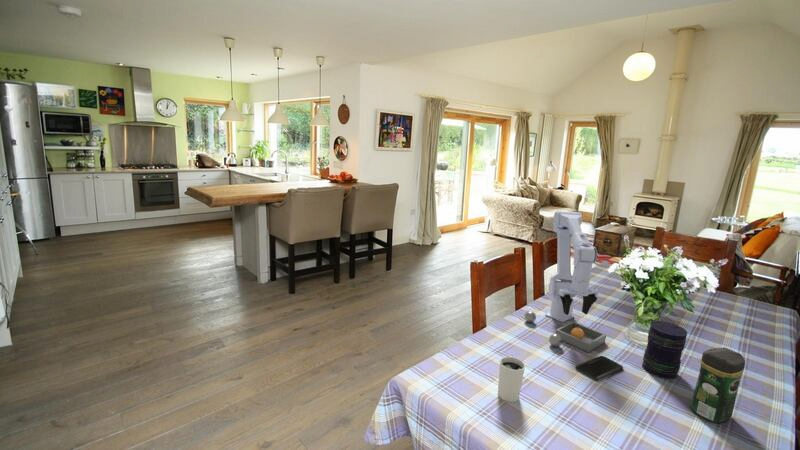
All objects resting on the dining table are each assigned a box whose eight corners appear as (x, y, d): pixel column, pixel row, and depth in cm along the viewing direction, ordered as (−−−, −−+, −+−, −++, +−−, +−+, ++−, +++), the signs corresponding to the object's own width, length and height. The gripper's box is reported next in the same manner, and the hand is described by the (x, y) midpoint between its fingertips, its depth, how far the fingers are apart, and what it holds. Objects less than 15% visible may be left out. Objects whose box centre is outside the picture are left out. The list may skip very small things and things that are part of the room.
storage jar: (660, 381, 120) (670, 337, 117) (634, 363, 129) (642, 322, 126) (685, 377, 123) (695, 334, 120) (657, 360, 132) (666, 319, 129)
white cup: (502, 384, 114) (506, 354, 112) (524, 394, 110) (528, 363, 108) (492, 395, 109) (496, 363, 107) (514, 406, 105) (519, 373, 103)
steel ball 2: (552, 341, 141) (554, 330, 140) (563, 346, 137) (565, 335, 136) (545, 345, 138) (547, 333, 137) (557, 350, 135) (559, 339, 134)
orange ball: (576, 332, 146) (572, 324, 144) (588, 334, 142) (583, 325, 141) (571, 341, 143) (567, 333, 142) (583, 343, 140) (578, 334, 139)
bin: (571, 328, 152) (572, 321, 151) (604, 342, 142) (606, 334, 141) (554, 337, 144) (555, 329, 143) (588, 353, 134) (589, 344, 134)
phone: (624, 367, 125) (596, 379, 118) (624, 370, 126) (596, 382, 118) (601, 355, 132) (574, 366, 124) (601, 358, 132) (573, 369, 125)
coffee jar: (703, 400, 112) (718, 341, 108) (736, 418, 105) (753, 356, 101) (683, 408, 108) (698, 347, 104) (715, 427, 101) (733, 363, 97)
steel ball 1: (527, 318, 158) (529, 308, 157) (537, 322, 155) (538, 312, 154) (521, 321, 156) (522, 311, 155) (531, 325, 152) (532, 315, 151)
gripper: (569, 283, 135) (563, 318, 138) (606, 282, 138) (600, 317, 141) (557, 275, 142) (552, 310, 145) (593, 275, 144) (587, 309, 148)
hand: (575, 313), depth 143 cm, fingers open, 7 cm apart
